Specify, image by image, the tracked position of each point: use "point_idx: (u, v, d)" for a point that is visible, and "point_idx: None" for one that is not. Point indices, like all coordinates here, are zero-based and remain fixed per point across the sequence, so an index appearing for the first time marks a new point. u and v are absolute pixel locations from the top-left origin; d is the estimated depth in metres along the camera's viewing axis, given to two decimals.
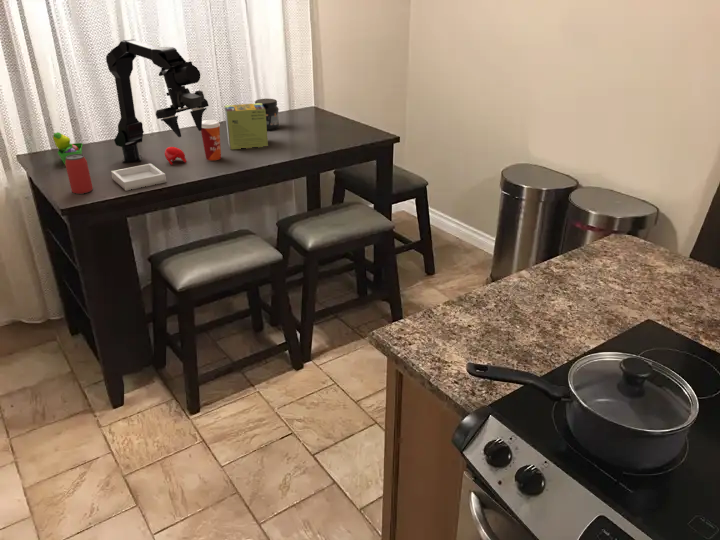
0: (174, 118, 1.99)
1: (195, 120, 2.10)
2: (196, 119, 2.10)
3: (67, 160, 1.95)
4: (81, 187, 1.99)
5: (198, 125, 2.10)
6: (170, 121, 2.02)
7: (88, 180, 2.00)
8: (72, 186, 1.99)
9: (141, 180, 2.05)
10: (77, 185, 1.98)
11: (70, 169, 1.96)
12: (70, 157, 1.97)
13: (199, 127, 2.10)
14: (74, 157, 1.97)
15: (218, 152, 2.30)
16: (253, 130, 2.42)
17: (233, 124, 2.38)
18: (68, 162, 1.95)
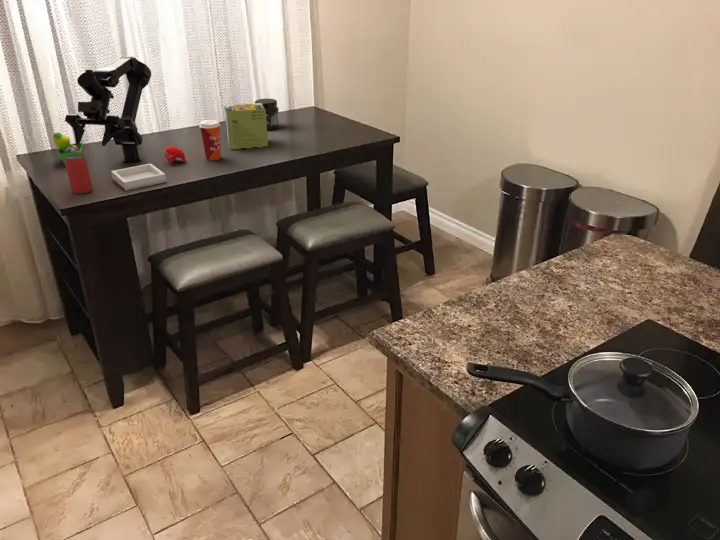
0: (71, 123, 2.03)
1: None
2: None
3: (67, 160, 1.95)
4: (81, 187, 1.99)
5: None
6: None
7: (88, 180, 2.00)
8: (72, 186, 1.99)
9: (141, 180, 2.05)
10: (77, 185, 1.98)
11: (70, 169, 1.96)
12: (70, 157, 1.97)
13: None
14: (74, 157, 1.97)
15: (218, 152, 2.30)
16: (253, 130, 2.42)
17: (233, 124, 2.38)
18: (68, 162, 1.95)
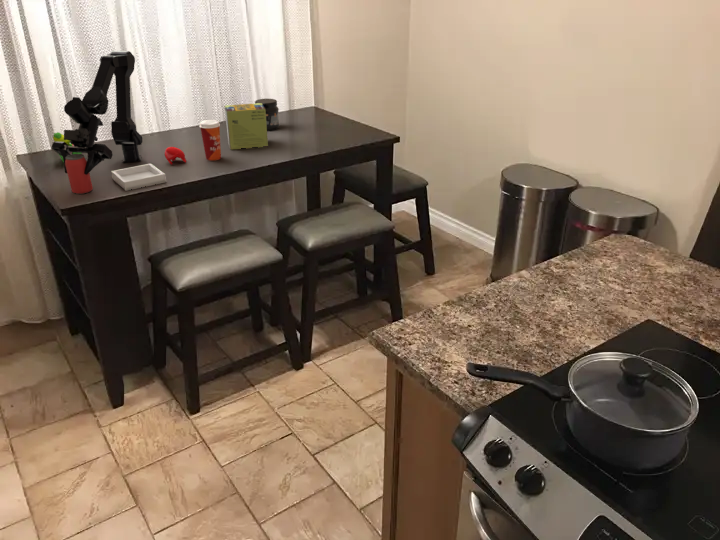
0: (61, 151, 1.98)
1: None
2: None
3: (67, 160, 1.95)
4: (81, 187, 1.99)
5: None
6: None
7: (88, 180, 2.00)
8: (72, 186, 1.99)
9: (141, 180, 2.05)
10: (77, 185, 1.98)
11: (70, 169, 1.96)
12: (70, 157, 1.97)
13: None
14: (74, 157, 1.97)
15: (218, 152, 2.30)
16: (253, 130, 2.42)
17: (233, 124, 2.38)
18: (68, 162, 1.95)
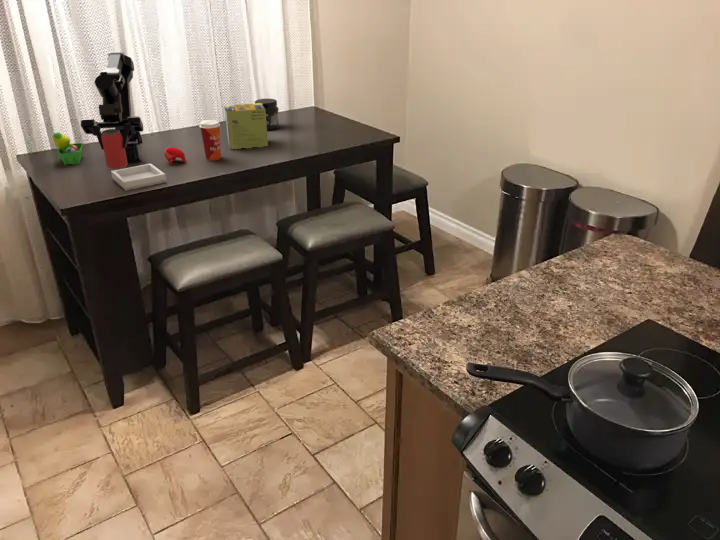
0: (93, 127, 1.98)
1: None
2: None
3: (106, 135, 1.96)
4: (120, 161, 2.01)
5: None
6: None
7: (125, 154, 2.03)
8: (111, 161, 2.00)
9: (141, 180, 2.05)
10: (117, 160, 2.00)
11: (110, 144, 1.97)
12: (106, 132, 1.98)
13: None
14: (110, 132, 1.98)
15: (218, 152, 2.30)
16: (253, 130, 2.42)
17: (233, 124, 2.38)
18: (108, 137, 1.96)
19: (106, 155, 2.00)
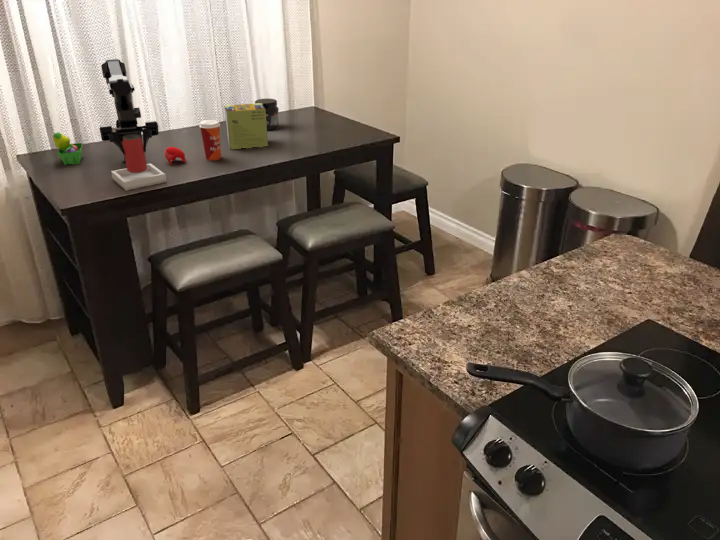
0: (113, 134, 2.03)
1: None
2: None
3: (128, 140, 2.02)
4: (142, 165, 2.07)
5: None
6: None
7: (145, 158, 2.09)
8: (133, 166, 2.06)
9: (141, 180, 2.05)
10: (139, 164, 2.06)
11: (133, 149, 2.03)
12: (127, 138, 2.03)
13: None
14: (131, 137, 2.04)
15: (218, 152, 2.30)
16: (253, 130, 2.42)
17: (233, 124, 2.38)
18: (131, 142, 2.02)
19: (128, 160, 2.05)
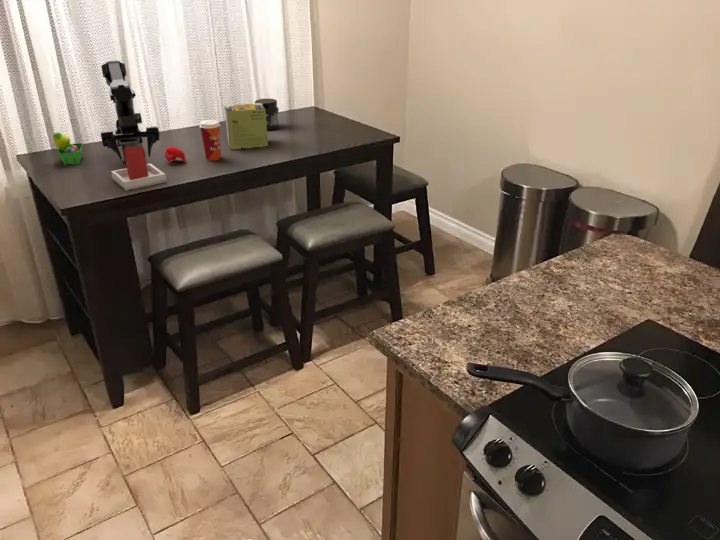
0: (110, 140, 2.03)
1: None
2: None
3: (130, 148, 2.03)
4: (144, 173, 2.08)
5: (148, 151, 2.08)
6: (114, 146, 2.06)
7: (146, 166, 2.10)
8: (134, 174, 2.07)
9: (141, 180, 2.05)
10: (140, 172, 2.07)
11: (134, 157, 2.04)
12: (129, 146, 2.05)
13: (148, 153, 2.08)
14: (133, 145, 2.05)
15: (218, 152, 2.30)
16: (253, 130, 2.42)
17: (233, 124, 2.38)
18: (133, 151, 2.03)
19: (130, 168, 2.06)
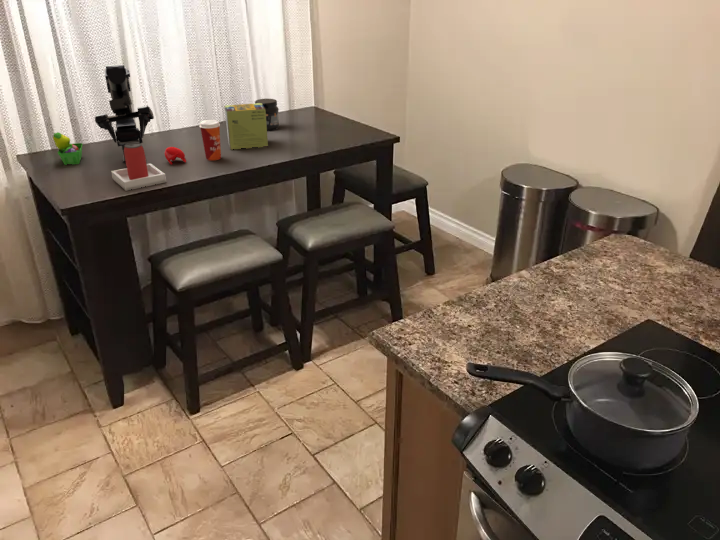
0: (104, 123, 2.09)
1: None
2: None
3: (130, 149, 2.03)
4: (144, 173, 2.08)
5: None
6: None
7: (146, 166, 2.10)
8: (134, 174, 2.07)
9: (141, 180, 2.05)
10: (140, 172, 2.07)
11: (134, 157, 2.04)
12: (129, 146, 2.05)
13: (141, 133, 2.11)
14: (132, 145, 2.05)
15: (218, 152, 2.30)
16: (253, 130, 2.42)
17: (233, 124, 2.38)
18: (132, 151, 2.03)
19: (129, 168, 2.06)
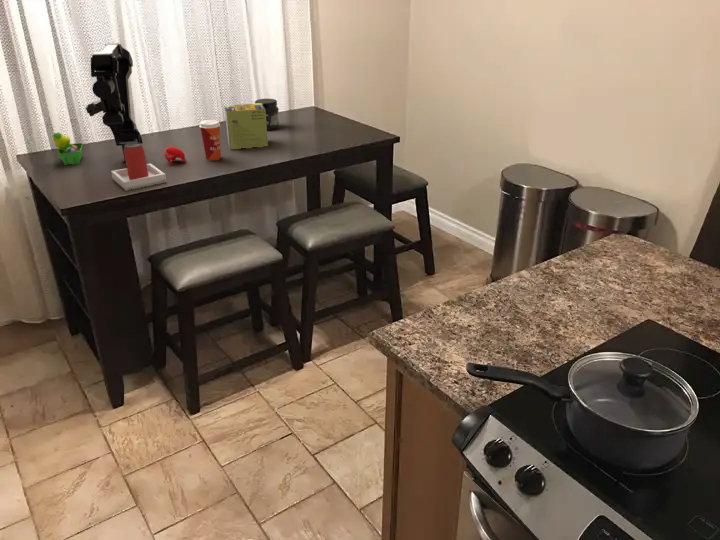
0: None
1: None
2: None
3: (130, 149, 2.03)
4: (144, 173, 2.08)
5: None
6: None
7: (146, 166, 2.10)
8: (134, 174, 2.07)
9: (141, 180, 2.05)
10: (140, 172, 2.07)
11: (134, 157, 2.04)
12: (128, 146, 2.05)
13: None
14: (132, 145, 2.05)
15: (218, 152, 2.30)
16: (253, 130, 2.42)
17: (233, 124, 2.38)
18: (132, 151, 2.03)
19: (129, 168, 2.06)
